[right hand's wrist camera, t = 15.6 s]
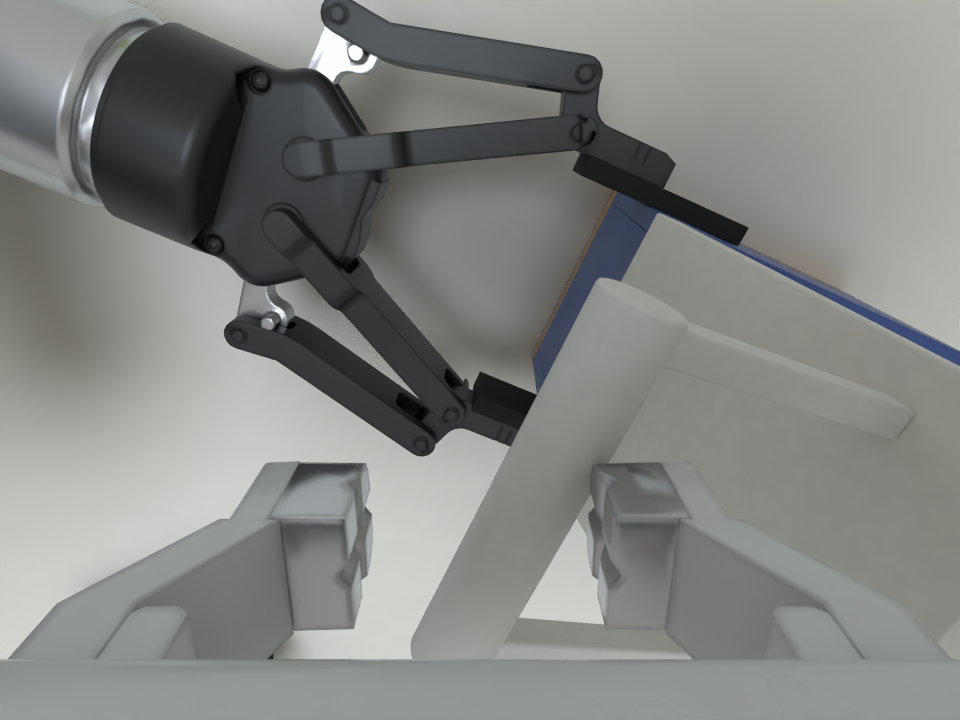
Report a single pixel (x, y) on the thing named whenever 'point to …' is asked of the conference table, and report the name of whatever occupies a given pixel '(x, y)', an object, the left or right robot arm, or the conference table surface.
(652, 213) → the chest
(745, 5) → the conference table surface
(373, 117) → the conference table surface
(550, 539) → the lid
